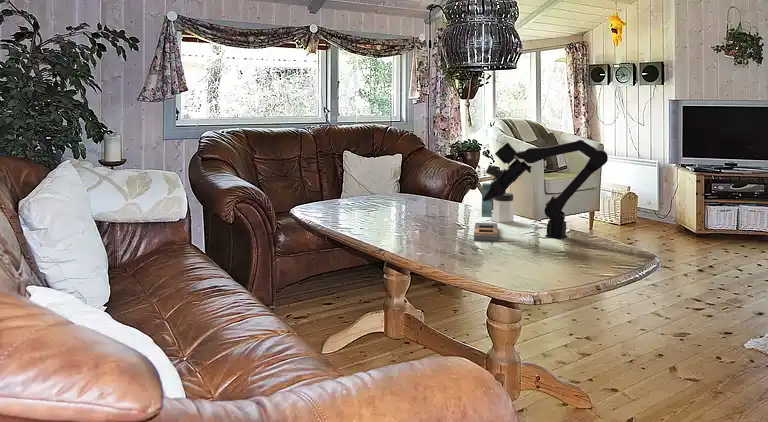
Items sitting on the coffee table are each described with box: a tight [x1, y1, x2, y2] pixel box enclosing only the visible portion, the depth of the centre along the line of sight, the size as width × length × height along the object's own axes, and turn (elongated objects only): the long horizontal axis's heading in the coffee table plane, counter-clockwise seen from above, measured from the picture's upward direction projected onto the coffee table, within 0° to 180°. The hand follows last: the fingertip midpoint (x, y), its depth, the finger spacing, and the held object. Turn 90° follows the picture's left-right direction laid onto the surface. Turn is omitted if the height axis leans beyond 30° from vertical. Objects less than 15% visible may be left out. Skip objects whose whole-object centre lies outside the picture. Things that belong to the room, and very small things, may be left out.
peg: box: [481, 182, 493, 218], centre depth 256 cm, size 4×4×13 cm
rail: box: [473, 222, 499, 242], centre depth 256 cm, size 26×9×2 cm, turn 170°
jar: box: [492, 192, 515, 224], centre depth 283 cm, size 9×8×12 cm
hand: (483, 199), depth 256 cm, fingers closed on peg, 4 cm apart
